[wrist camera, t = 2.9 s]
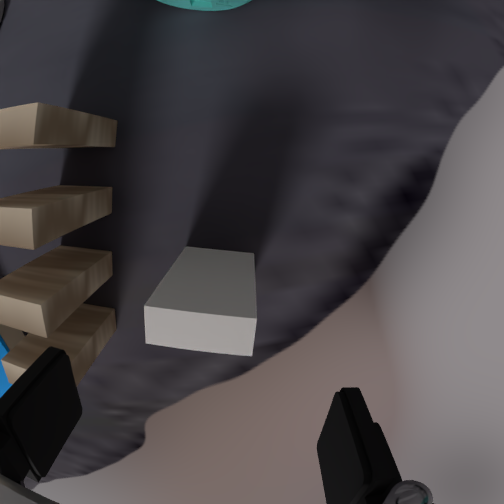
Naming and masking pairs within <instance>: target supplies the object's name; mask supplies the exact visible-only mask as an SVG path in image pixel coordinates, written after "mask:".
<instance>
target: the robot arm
mask: <svg viewBox="0 0 504 504" xmlns="http://www.w3.org/2000/svg"><path fill="white" fill-rule="evenodd" d="M3 11H4V0H0V23H1V19H2V16H3ZM81 415H82V406H81V402H80V399H79V395H78V391H77V387H76V383H75V379H74V375H73V371H72V367H71V362H70V358H69V356H68V355H67V354H66V352H65V350H63V349H59V348H56V347H52V346H50V347H48V348H47V349H46V350H45V351H44V352H43V353H42V354H41V355H40V356H39V357H38V358H37V359H36V360H35V361H34V362H33V364H32V365H31V366H30V367H29V368H28V369H27V370H26V371H25V372H24V373H23V374H22V375H21V376H20V377H19V378H18V379H17V380H16V381H15V382H14V384H13V385H12V386H11V387H10V388H9V389H8V390H7V391H6V392H5V393H4V394H3V396H2V397H1V398H0V504H59V503H57V502H55V501H52V500H50V499H48V498H46V497H43V496H41V495H39V494H37V493H35V492H33V491H31V490H29V489H27V488H26V487H25V483H24V478H25V477H26V476H27V477H29V478H31V479H33V480H35V481H37V482H39V481H40V479H41V477H45V476H46V475H47V473H48V471H49V470H50V468H51V466H52V464H53V463H54V461H55V459H56V457H57V456H58V454H59V452H60V451H61V449H62V447H63V445H64V444H65V442H66V440H67V439H68V437H69V435H70V434H71V432H72V430H73V429H74V427H75V425H76V424H77V422H78V420H79V419H80V417H81ZM317 453H318V458H319V464H320V469H321V474H322V480H323V486H324V491H325V497H326V503H327V504H434V503H432V502H433V497H432V493H431V491H430V489H429V488H428V487H427V486H426V485H424V484H423V483H421V482H418V481H414V480H406V481H402V479H401V476H400V473H399V471H398V468H397V466H396V463H395V461H394V458H393V456H392V453H391V451H390V448H389V446H388V444H387V441H386V439H385V437H384V434H383V432H382V429H381V427H380V425H379V424H378V423H374V422H373V421H372V418H371V415H370V413H369V410H368V408H367V405H366V403H365V401H364V398H363V396H362V393H361V391H360V389H359V388H357V387H356V388H342V389H341V390H340V392H336V393H335V395H334V398H333V401H332V404H331V406H330V410H329V412H328V415H327V418H326V421H325V424H324V426H323V429H322V432H321V434H320V437H319V440H318V443H317Z"/></svg>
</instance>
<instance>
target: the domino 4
mask: <svg viewBox="0 0 504 504" xmlns="http://www.w3.org/2000/svg"><path fill="white" fill-rule="evenodd" d="M115 331H116V318H115V309H113V308H107V307H101V306H95V305H90V304H84V303H82V304H81V305H80V306H79V307H78V308H77V309H76V310H75V311H74V312H73V313H72V314H71V315H70V316H69V317H68V318H67V319H66V320H65V321H64V322H63V323H62V324H61V325H60V326H59V327H58V328H57V329H56V330H55V331H54V332H53V333H52V334H51V335H50V336H49V337H48V338H45V337H42V336H38V335H35V334H31V333H28V334H27V335H26V336H25V337H24V338H23V339H22V340H21V341H20V342H19V343H18V344H17V345H16V346H15V347H14V348H13V349H11V350H10V351H9V352H8V353H7V354H6V355H5V356H4V357H3V358H2V359H1V361H2V364H3V367H4V370H5V373H6V376H7V378H8V381H9V383H11V384H14V382H15V381H16V380H17V379H18V378H19V377H20V376H21V375H22V374H23V373H24V372H25V371H26V370H27V369H28V368H29V367H30V366H31V365H32V364H33V362H34V361H35V360H36V359H37V358H38V357H39V356H40V355H41V354H42V353H43V352H44V351H45V350H46V349H47V348H48V347H50V346H52V347H56V348H59V349H63V350H65V352H66V354H67V355H68V356H69V358H70V362H71V367H72V371H73V375H74V379H75V383H76V387H77V386H78V384H79V383H80V381H81V380H82V378H83V377H84V375H85V374H86V372H87V371H88V369H89V368H90V366H91V365H92V363H93V362H94V360H95V359H96V358H97V356H98V355H99V353H100V352H101V350H102V349H103V348H104V346H105V345H106V343H107V342H108V341H109V339H110V338H111V336H112V335H113V334H114V332H115Z"/></svg>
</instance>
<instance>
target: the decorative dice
mask: <svg viewBox="0 0 504 504" xmlns="http://www.w3.org/2000/svg"><path fill="white" fill-rule="evenodd" d="M157 1H159V2H162V3H165V4H168V5H171V6H175V7H180V8H185V9H192V10H202V11H219V10H228V9H232V8H236V7H239V6H241V5H244V4H246V3H248V2H250V1H252V0H157Z"/></svg>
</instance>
